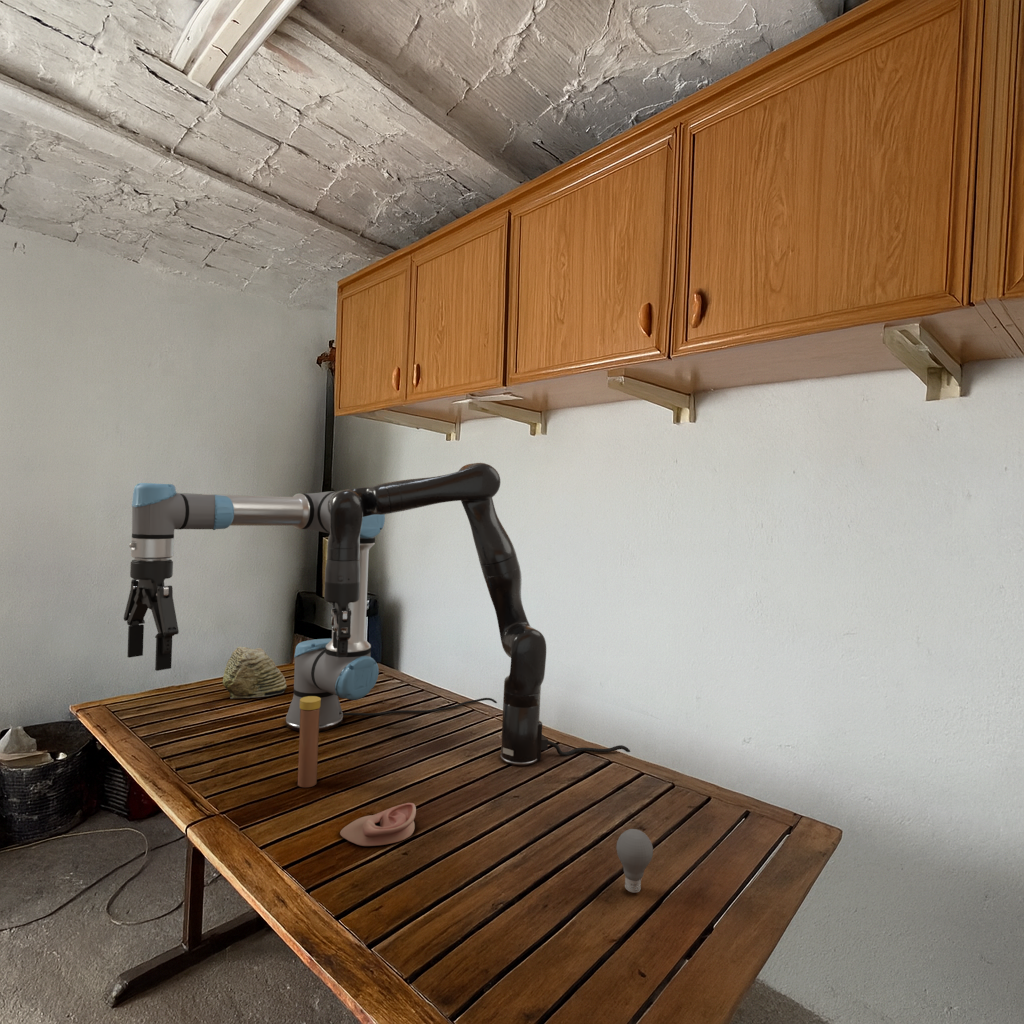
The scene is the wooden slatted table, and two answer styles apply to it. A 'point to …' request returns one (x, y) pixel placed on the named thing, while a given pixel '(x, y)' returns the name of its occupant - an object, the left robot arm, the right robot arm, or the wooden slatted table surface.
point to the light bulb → (634, 857)
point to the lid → (310, 703)
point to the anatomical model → (382, 826)
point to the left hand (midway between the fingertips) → (148, 662)
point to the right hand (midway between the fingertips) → (339, 652)
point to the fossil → (252, 674)
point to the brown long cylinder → (308, 748)
